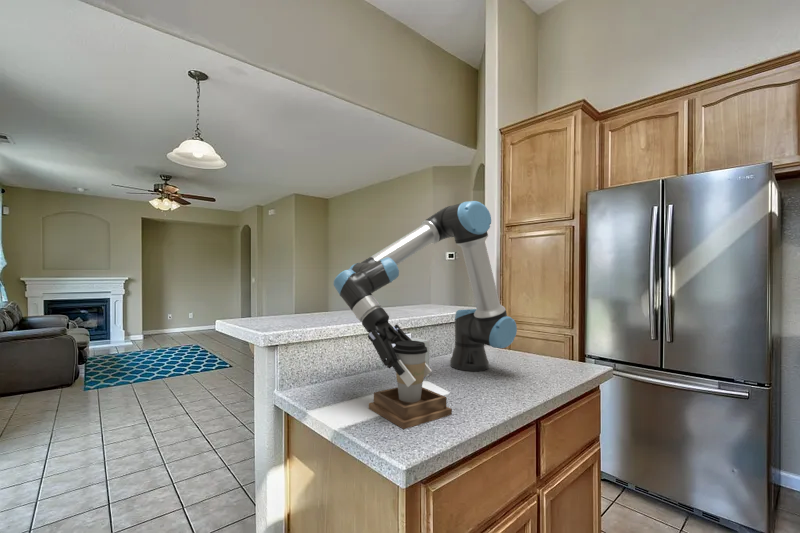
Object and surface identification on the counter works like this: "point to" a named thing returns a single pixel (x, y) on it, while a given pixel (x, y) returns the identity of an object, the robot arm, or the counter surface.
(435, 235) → the robot arm
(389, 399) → the wooden tray
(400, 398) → the coffee cup
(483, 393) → the counter surface
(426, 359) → the small box
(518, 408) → the counter surface
